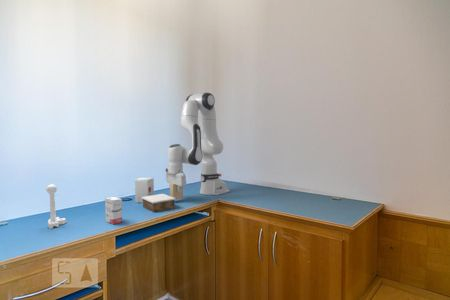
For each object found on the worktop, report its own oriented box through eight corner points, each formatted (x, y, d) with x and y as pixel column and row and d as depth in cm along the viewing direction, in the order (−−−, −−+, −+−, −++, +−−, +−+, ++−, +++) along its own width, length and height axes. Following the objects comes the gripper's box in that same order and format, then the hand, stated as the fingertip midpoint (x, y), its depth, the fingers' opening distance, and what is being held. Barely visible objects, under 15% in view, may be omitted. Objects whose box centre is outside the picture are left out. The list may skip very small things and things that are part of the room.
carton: (179, 196, 190) (179, 181, 189) (183, 198, 186) (182, 182, 186) (170, 198, 186) (169, 183, 185) (173, 200, 182) (172, 184, 181)
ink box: (123, 222, 145) (122, 198, 144) (113, 224, 141) (112, 200, 141) (114, 218, 151) (113, 196, 150) (105, 221, 147) (104, 198, 146)
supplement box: (148, 203, 182) (147, 179, 181) (135, 202, 184) (134, 179, 183) (154, 200, 191) (153, 177, 190) (141, 199, 193) (141, 177, 192)
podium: (163, 203, 183) (163, 193, 182) (175, 208, 170) (175, 198, 170) (141, 206, 174) (141, 197, 174) (153, 212, 161) (153, 202, 161)
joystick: (49, 222, 146) (47, 183, 145) (66, 220, 150) (64, 181, 148) (47, 229, 136) (45, 186, 135) (65, 226, 140) (63, 185, 138)
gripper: (188, 171, 178) (189, 193, 180) (172, 167, 195) (173, 188, 196) (179, 172, 175) (180, 194, 176) (163, 168, 191) (164, 189, 192)
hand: (176, 191), depth 186 cm, fingers closed on carton, 4 cm apart
